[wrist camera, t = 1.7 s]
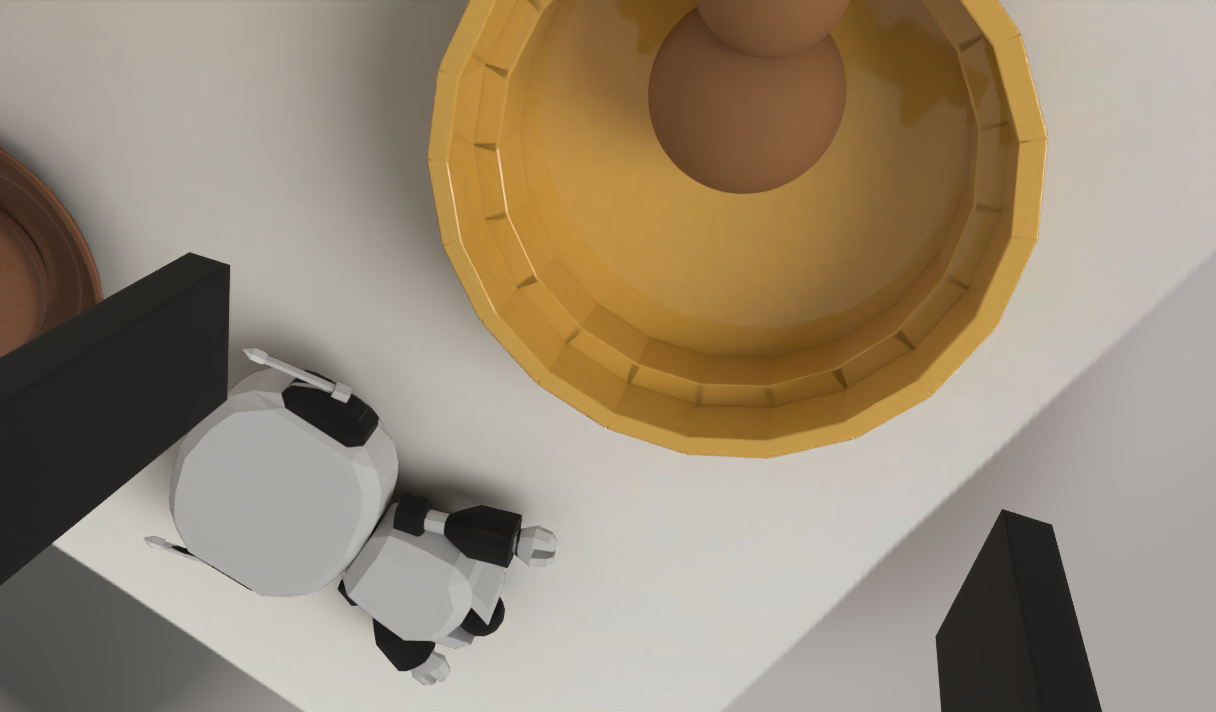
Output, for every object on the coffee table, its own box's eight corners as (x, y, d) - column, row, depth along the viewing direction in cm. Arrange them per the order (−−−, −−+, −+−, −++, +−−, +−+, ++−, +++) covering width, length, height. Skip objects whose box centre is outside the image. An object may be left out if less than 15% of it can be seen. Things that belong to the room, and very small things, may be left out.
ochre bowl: (533, -207, 29) (471, -220, 24) (1125, -62, 27) (1172, -48, 22) (457, 305, 37) (401, 363, 33) (901, 445, 35) (905, 526, 31)
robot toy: (591, 497, 41) (282, 294, 39) (567, 569, 37) (223, 348, 35) (454, 650, 47) (182, 482, 45) (422, 726, 43) (121, 546, 41)
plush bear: (672, 67, 32) (706, -216, 23) (839, 113, 31) (938, -161, 23) (618, 200, 29) (635, -60, 21) (797, 253, 29) (890, 7, 20)
